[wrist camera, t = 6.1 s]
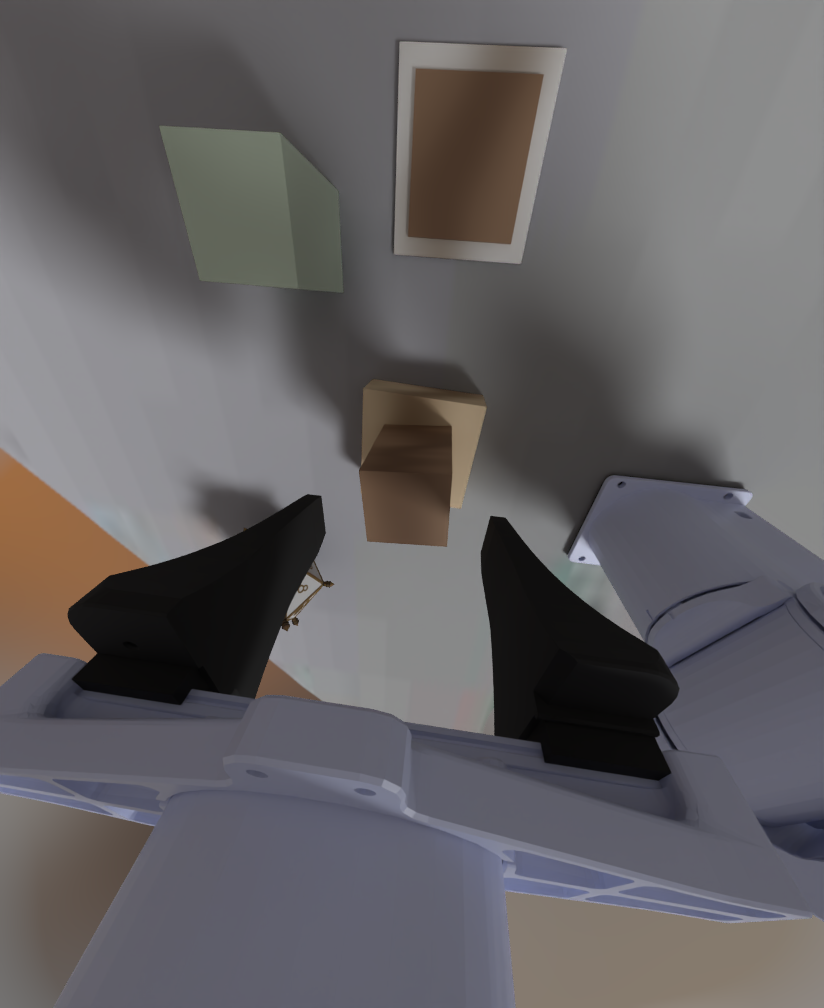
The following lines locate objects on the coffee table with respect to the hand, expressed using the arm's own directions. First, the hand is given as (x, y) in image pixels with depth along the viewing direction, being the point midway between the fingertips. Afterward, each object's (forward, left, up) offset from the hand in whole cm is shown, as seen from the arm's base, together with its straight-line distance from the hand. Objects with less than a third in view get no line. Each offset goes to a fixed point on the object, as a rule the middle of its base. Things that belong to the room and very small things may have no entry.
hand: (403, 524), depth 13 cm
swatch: (-1, -13, -10) cm, 16 cm away
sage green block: (+7, -10, -10) cm, 16 cm away
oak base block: (0, 0, -10) cm, 10 cm away
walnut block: (0, 0, -7) cm, 7 cm away
